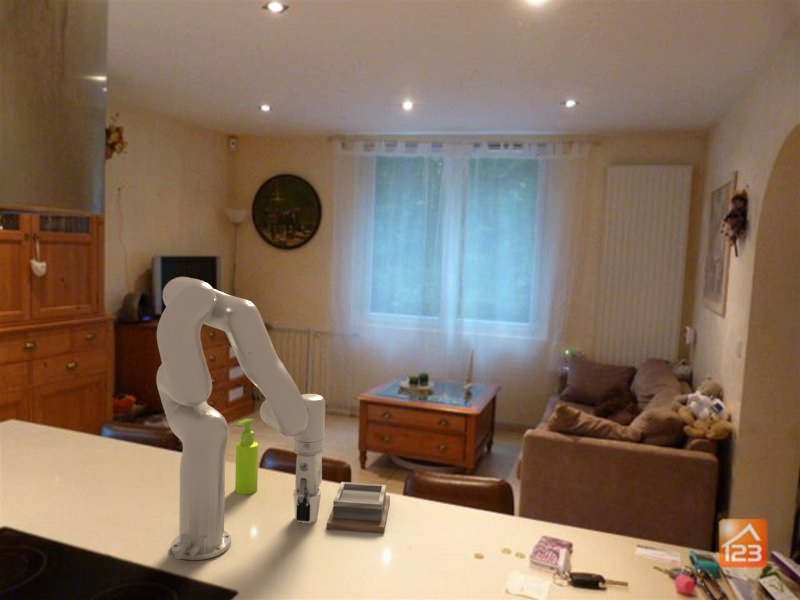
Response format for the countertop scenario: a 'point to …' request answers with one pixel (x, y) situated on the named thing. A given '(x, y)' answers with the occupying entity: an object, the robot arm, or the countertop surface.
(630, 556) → the countertop surface
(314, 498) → the white cup
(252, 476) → the soap dispenser
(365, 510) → the stand
